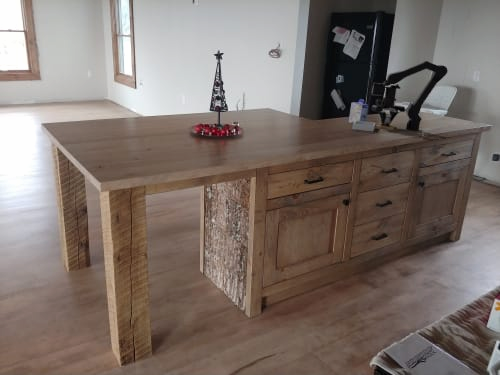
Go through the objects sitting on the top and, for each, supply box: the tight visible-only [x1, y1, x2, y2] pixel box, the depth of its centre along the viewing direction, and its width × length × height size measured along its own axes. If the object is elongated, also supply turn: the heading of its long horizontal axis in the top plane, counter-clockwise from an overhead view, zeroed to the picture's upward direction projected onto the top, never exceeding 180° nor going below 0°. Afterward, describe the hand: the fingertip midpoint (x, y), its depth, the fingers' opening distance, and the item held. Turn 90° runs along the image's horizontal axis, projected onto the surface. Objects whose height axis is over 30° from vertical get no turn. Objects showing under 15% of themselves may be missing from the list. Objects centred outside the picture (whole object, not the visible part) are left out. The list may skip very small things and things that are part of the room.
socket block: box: [375, 122, 396, 131], centre depth 260 cm, size 10×10×2 cm
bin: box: [351, 121, 377, 134], centre depth 253 cm, size 11×11×4 cm
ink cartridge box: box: [348, 98, 369, 124], centre depth 270 cm, size 10×6×14 cm, turn 29°
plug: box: [382, 113, 392, 127], centre depth 259 cm, size 5×5×7 cm
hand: (386, 123), depth 259 cm, fingers closed on plug, 4 cm apart
